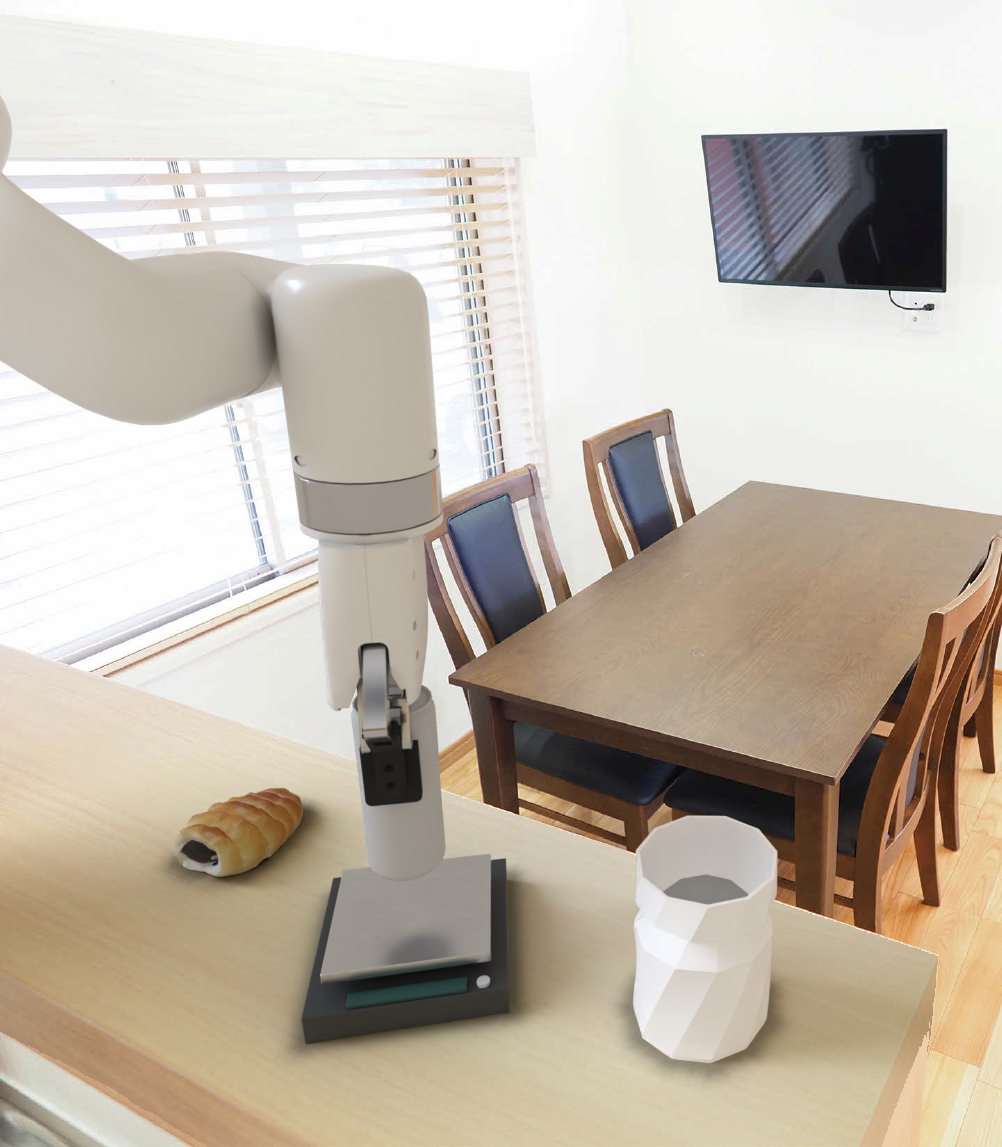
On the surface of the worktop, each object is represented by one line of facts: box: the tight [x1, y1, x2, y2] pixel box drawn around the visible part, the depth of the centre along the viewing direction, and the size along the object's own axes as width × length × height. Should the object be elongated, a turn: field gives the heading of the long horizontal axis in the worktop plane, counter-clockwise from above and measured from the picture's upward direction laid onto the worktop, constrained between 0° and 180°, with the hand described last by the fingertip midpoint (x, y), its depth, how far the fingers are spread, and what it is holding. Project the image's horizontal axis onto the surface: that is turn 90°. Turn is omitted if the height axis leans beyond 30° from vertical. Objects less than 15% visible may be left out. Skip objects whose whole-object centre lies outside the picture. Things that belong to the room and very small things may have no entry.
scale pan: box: [320, 853, 492, 985], centre depth 65 cm, size 10×10×1 cm
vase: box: [632, 815, 778, 1064], centre depth 61 cm, size 9×9×12 cm
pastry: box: [170, 787, 304, 878], centre depth 75 cm, size 9×7×4 cm
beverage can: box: [350, 684, 447, 881], centre depth 61 cm, size 5×5×12 cm
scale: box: [300, 857, 511, 1045], centre depth 66 cm, size 12×13×2 cm
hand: (398, 772), depth 61 cm, fingers closed on beverage can, 4 cm apart
